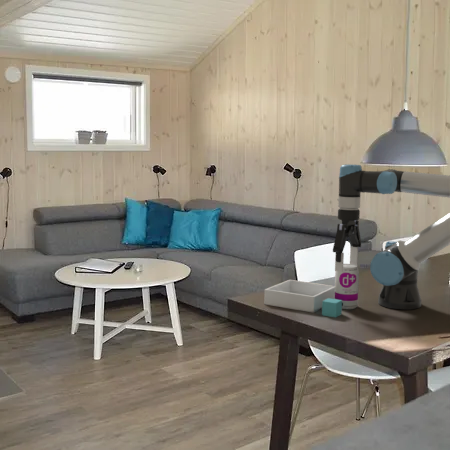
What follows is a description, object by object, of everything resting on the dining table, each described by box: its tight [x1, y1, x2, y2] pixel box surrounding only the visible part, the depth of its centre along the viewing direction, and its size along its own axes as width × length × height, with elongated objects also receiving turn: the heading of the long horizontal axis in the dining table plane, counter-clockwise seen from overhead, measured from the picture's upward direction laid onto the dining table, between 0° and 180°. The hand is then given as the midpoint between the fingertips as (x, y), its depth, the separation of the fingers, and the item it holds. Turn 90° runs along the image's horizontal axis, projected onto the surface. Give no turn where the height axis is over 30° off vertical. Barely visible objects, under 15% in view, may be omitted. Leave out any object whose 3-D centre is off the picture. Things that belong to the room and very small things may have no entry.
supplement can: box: [334, 263, 360, 310], centre depth 226 cm, size 8×8×15 cm
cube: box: [321, 298, 343, 318], centre depth 216 cm, size 5×5×5 cm
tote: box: [263, 279, 335, 313], centre depth 232 cm, size 20×20×6 cm
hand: (346, 267), depth 225 cm, fingers open, 13 cm apart
